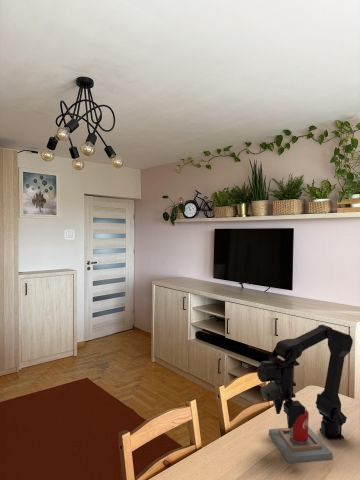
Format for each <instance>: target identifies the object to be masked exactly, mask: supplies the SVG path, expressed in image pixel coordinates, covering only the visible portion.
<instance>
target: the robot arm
mask: <svg viewBox="0 0 360 480" xmlns="http://www.w3.org/2000/svg"><path fill="white" fill-rule="evenodd" d="M326 340H327V346H328V350H329V354H330V355H329V360H328V366H327V371H326V378H325V384H324V389H323V390H322V392H320V393H317V394H316V401H315V404H316V409H317V410H318V414H319V415H321V416H322V418H321V419H322V420H320V428H319V431H320V432H321V433H322V435H324V437H325V438H326V439H327V440H328V441H329V440H340V439H345V436H344V435H343V434H342V432H343V431H342V428H343V425H344V424H346V422H347V416H346V415H345V414H344V413H343V412H342V403H341V399H340V396H339V392H340V387H341V380H342V375H343V369H344V362H345V357H346V356H347V355H349V353H350V352H351V349H352V346H353V344H354V343H353V341H354V340H353V338H352V336H351V335H350V334H348V333H345V332H342V331H339V330H336V329H334V328H333V327H331V326H328V325H325V324H319V325H318V326H317V327H315V328H313V329H311V330H310V331H309V330H308V331H307V332H306V333H303V334H301V335H300V336H298V337H294V338H286V339H283V340H279V341H277V343H276V344H275V345H276V346H275V347H274V348H273V350H272V352H271V353H270V355H269V356H268V359H269V360H263V361H260V364H259V365H258V367H257V368H256V373H257V374H256V375H257V378H258V380H259V382H261V383H267V384H266V385H264V386H261V387H260V392H261V395H262V398H263V399H264V401H266V403H269V402H273V403H274V404H273V405H274V408H275V412H276V415H280V413H281V411H282V410H283V412H284V413H285V414H286V420H287V421H286V422H287V428H289V429H290V428H292V426H293V425H294V423H295V422H296V420H297V419H298V417H299V416H300V415H303V414H305V407H306V406H305V405H304V404H302V403H301V401H299V400H293V399H294V398H296V394H295V393H294V387H297V383H296V382H295V380H294V379H295V367H297V366H300V363H299V361H298V359H299V358H300V357H301V356H302V354H303V352H304V351H306V350H307V349H309V348H311V347H314V346H315V345H317V344H319V343H321V342H323V341H326ZM281 358H282V359H281ZM303 405H304V406H305V407H304V406H303ZM282 408H283V409H282Z"/></svg>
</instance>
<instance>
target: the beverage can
mask: <svg viewBox="0 0 360 480" xmlns="http://www.w3.org/2000/svg"><path fill="white" fill-rule="evenodd" d="M302 405H303V406H304V407H305V414H303V415H300V416H299V417H298V419H297V420H296V422H295V423H294V425H293V426H292V428H290V434H289V436H290V438H291V439H292V440H293V441H294V442H295V443H298V444H303V443H305V442H306V441H307V440H308V427H309V419H310V417H309V415H310V414H309V411H308V409H307V407H306V406H305V405H304V404H302Z"/></svg>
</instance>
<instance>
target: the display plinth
mask: <svg viewBox="0 0 360 480" xmlns="http://www.w3.org/2000/svg"><path fill="white" fill-rule="evenodd" d="M289 434H290V429H289V428H288V427H278V428H269V429H268V435H269V436H270V438H271V439H272V441H273V442H274V444H275V446H276V447H277V448H278V450H279V452H280V453H281V454H282V456H283V457H284V458H285V460H286V462H287V463H288V464H291V463H301V462H303V463H304V462H312V461H313V462H314V461H323V460H333V452H332V451H331V449H329V448H328V446H327V445H326V444H325V443H324V442H323V441H322V440H321V439H320V437H319V436H318V435H317V434H316V433H315V431H313V430H312V429H311V428H310V426H308V440H307V441H306V442H305V443H303V444H298V443H295V442H294V441H293V440H292V439H291V438H290V436H289Z"/></svg>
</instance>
